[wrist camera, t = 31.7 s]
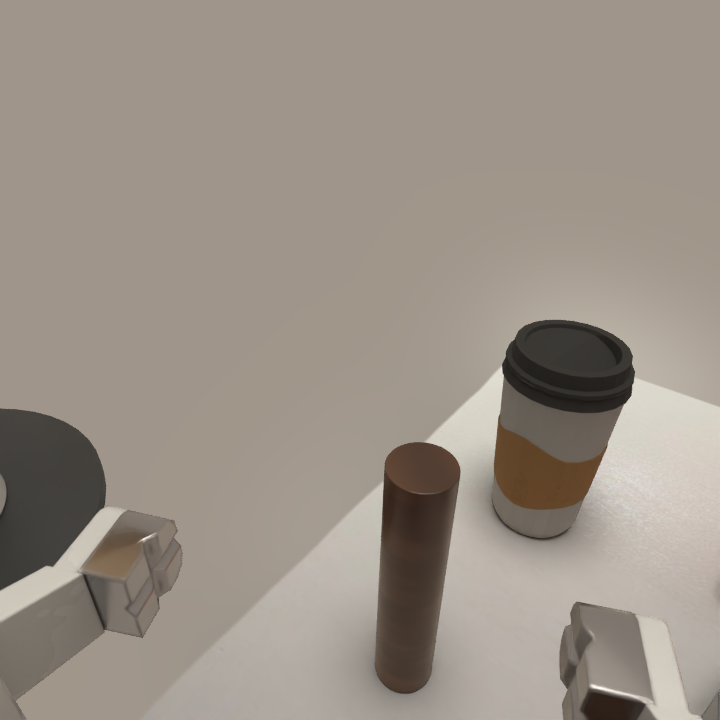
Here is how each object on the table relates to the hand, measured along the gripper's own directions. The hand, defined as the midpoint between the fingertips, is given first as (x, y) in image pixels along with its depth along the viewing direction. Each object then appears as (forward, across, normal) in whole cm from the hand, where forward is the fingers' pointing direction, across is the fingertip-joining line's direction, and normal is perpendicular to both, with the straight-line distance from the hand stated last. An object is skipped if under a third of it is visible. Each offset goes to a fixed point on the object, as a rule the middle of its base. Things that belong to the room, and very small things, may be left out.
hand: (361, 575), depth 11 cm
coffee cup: (+26, -8, +24) cm, 37 cm away
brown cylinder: (+12, 0, +24) cm, 27 cm away
